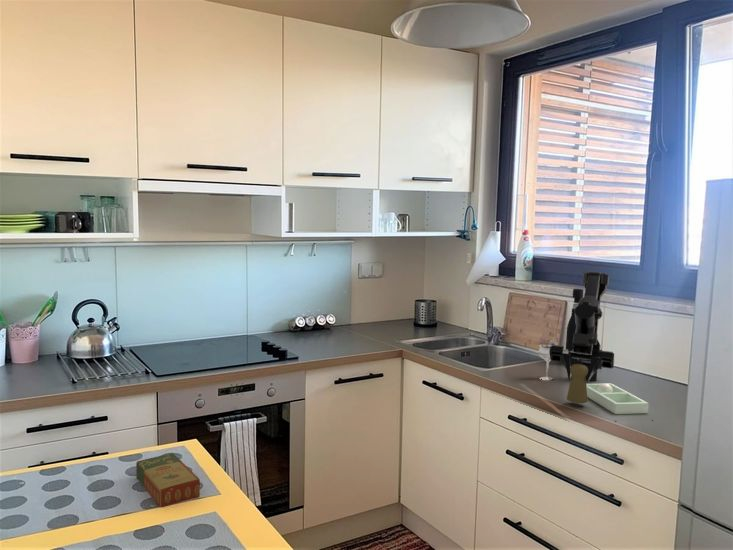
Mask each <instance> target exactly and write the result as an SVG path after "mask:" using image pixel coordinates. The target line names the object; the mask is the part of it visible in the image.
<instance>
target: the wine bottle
mask: <svg viewBox="0 0 733 550" xmlns="http://www.w3.org/2000/svg"><path fill="white" fill-rule="evenodd" d="M572 298H574V299H573V303H572V308H571V316H570V318H569V321H568V323H567V327H566V335H565V336H566V337H565V349H567V350H569V351H572V350H573V349H572V342H573V336H574V333H575V331H576V323H575V317H574V310H575V307H576V306H578V303H579V300H580V299H582V298H584V289H582V288H573V289H572ZM574 364H576V358H570V367H571V366H572V365H574Z"/></svg>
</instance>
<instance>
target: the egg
mask: <svg viewBox="0 0 733 550" xmlns="http://www.w3.org/2000/svg"><path fill="white" fill-rule="evenodd" d="M606 383H607V382H606ZM606 383H605V382H603V383H599V384H600V385H599V386H598V389H597V391H598V392H599V393H613V389H612V387H611V386H610V385H609V384H606Z"/></svg>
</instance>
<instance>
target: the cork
mask: <svg viewBox="0 0 733 550" xmlns="http://www.w3.org/2000/svg"><path fill="white" fill-rule="evenodd" d="M587 374H588V368H587V367H586V366H585V365H582V364H574V365H572V366H570V381H569V386H568V391H567V395H566V400H567V401H569V402H571V403H574V404H575V403H576V404H586V403H588V400H589V399H588V397H587V385H586V384H587V380H586V376H587Z"/></svg>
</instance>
